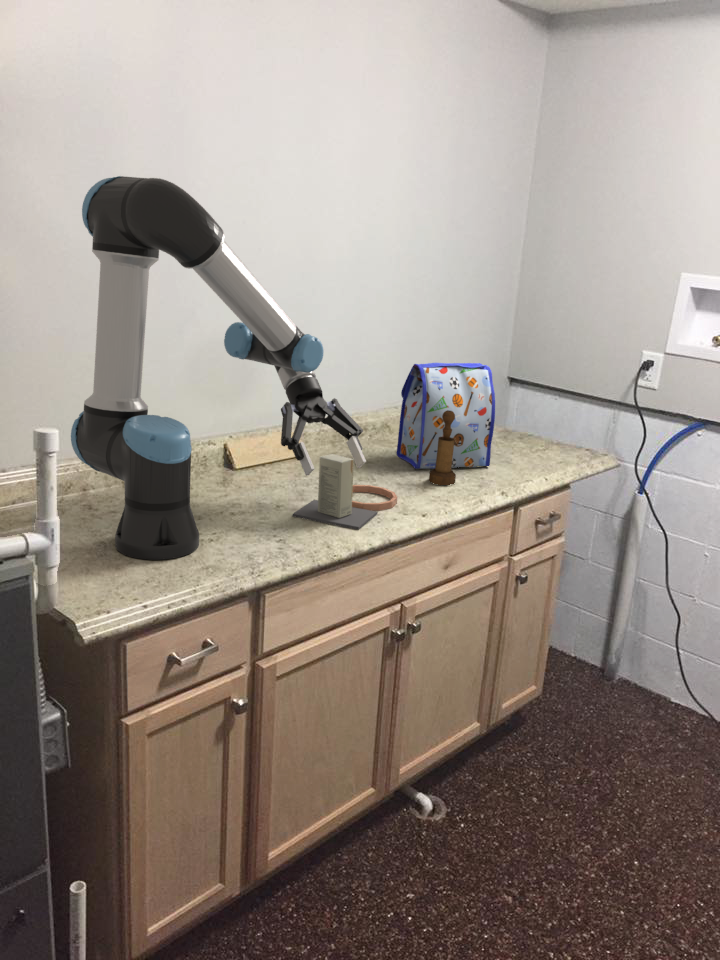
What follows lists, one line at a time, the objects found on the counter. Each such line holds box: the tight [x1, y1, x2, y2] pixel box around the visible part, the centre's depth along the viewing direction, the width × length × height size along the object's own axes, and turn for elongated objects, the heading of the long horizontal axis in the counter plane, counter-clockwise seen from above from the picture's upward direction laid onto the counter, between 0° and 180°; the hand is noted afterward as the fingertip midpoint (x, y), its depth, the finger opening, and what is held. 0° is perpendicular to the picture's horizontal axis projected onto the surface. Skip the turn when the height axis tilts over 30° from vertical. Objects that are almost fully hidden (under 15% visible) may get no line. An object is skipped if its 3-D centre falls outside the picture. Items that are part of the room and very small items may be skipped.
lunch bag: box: [396, 362, 496, 470], centre depth 222 cm, size 23×17×27 cm
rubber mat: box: [292, 499, 378, 531], centre depth 178 cm, size 11×15×1 cm
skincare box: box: [317, 453, 355, 518], centre depth 176 cm, size 6×4×12 cm
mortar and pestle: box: [428, 410, 457, 486], centre depth 205 cm, size 7×6×18 cm
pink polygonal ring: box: [352, 484, 398, 512], centre depth 189 cm, size 14×14×2 cm
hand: (336, 468), depth 177 cm, fingers open, 13 cm apart
